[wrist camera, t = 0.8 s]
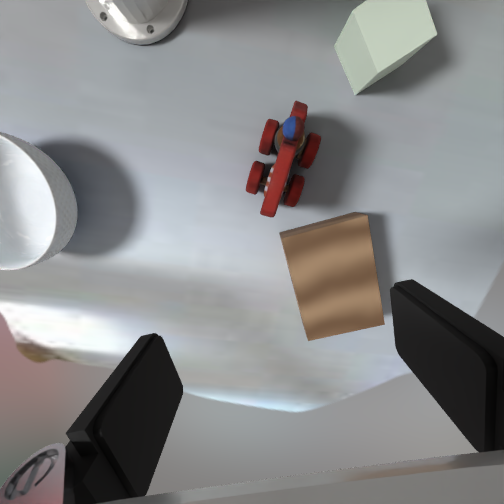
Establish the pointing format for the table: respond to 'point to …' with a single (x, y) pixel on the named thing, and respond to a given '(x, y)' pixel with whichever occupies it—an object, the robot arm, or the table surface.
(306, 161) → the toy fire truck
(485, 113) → the table surface
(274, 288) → the table surface
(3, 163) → the cereal bowl
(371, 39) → the sage cube
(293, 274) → the tan block
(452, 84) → the table surface
